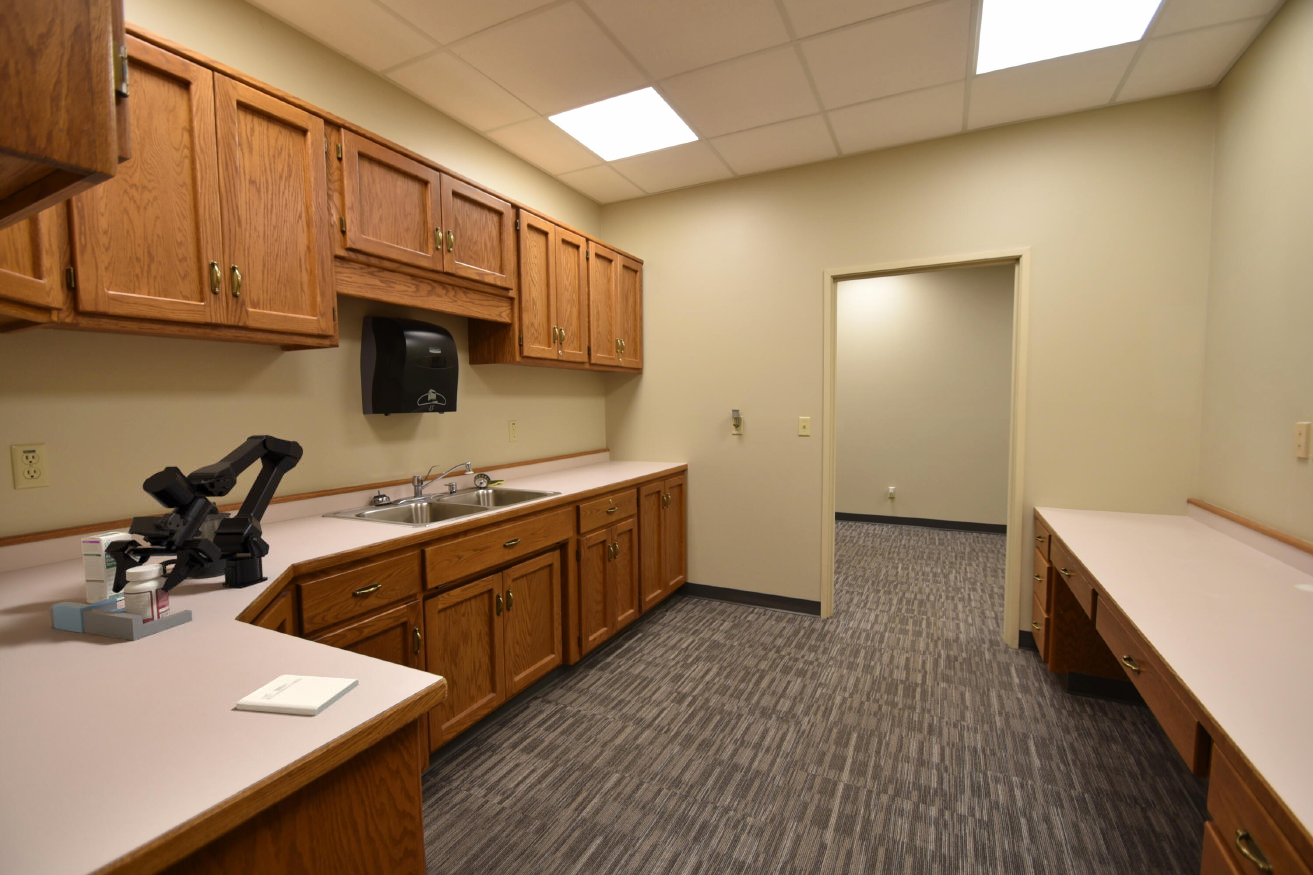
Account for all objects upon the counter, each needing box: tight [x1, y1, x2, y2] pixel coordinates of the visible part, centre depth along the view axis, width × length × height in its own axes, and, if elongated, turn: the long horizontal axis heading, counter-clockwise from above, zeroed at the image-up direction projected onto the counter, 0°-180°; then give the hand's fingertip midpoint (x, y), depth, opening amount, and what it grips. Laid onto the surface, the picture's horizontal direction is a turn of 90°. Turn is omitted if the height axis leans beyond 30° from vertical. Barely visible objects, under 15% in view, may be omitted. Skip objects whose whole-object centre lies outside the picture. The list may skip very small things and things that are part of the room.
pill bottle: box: [123, 563, 171, 624], centre depth 105 cm, size 6×6×11 cm
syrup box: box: [80, 531, 132, 604], centre depth 120 cm, size 6×6×14 cm
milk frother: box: [158, 511, 232, 579], centre depth 138 cm, size 14×16×15 cm
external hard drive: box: [236, 674, 360, 716], centre depth 79 cm, size 2×8×12 cm
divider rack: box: [49, 598, 193, 641], centre depth 107 cm, size 24×10×5 cm, turn 73°
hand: (139, 591), depth 104 cm, fingers open, 9 cm apart
